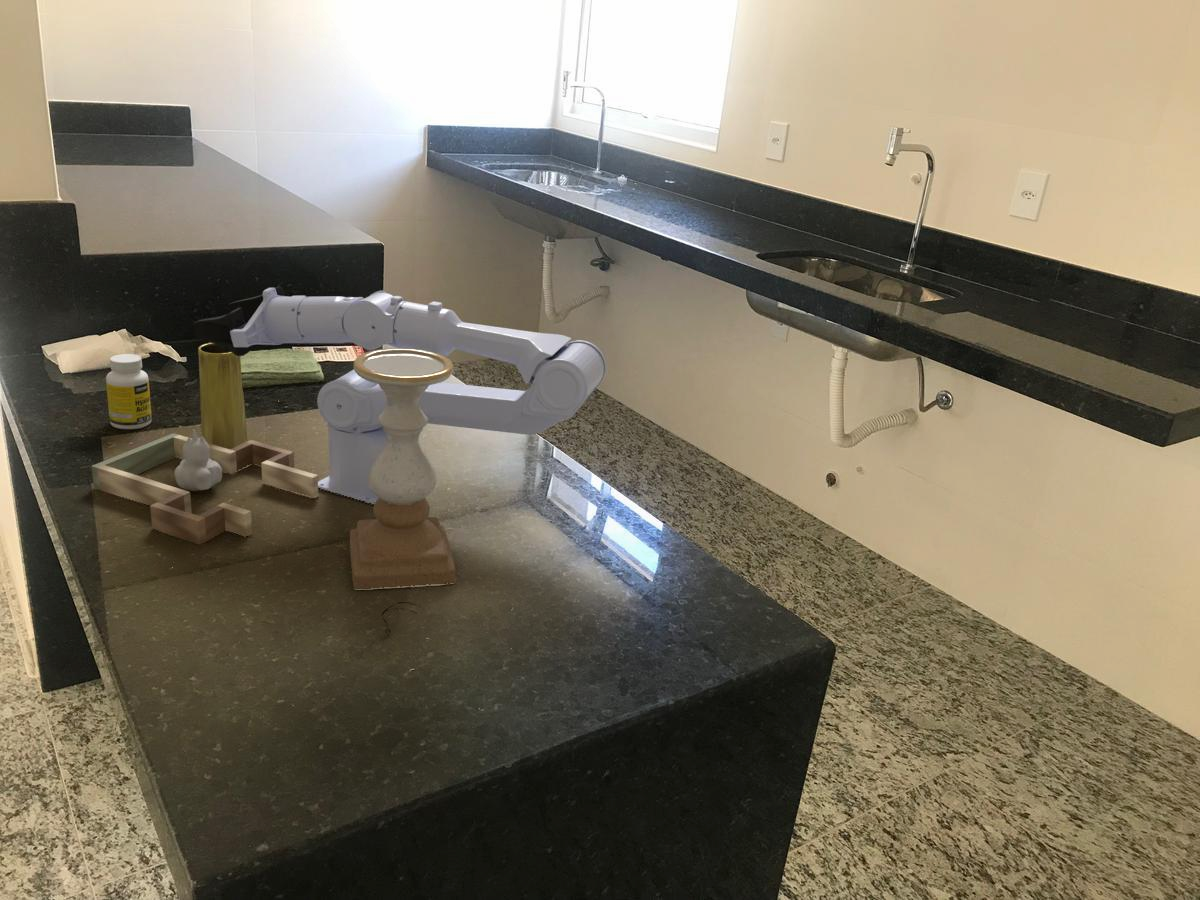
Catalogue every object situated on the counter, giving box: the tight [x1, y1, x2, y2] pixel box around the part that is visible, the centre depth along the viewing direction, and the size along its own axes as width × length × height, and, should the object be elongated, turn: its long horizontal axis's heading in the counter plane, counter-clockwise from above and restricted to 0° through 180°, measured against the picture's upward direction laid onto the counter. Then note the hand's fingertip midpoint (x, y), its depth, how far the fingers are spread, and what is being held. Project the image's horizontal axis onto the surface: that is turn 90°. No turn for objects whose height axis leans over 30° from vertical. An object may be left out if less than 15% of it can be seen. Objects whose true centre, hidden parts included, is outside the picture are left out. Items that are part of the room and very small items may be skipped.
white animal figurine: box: [173, 429, 223, 492], centre depth 120 cm, size 5×7×8 cm
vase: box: [197, 342, 249, 449], centre depth 132 cm, size 6×6×14 cm
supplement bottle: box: [105, 353, 153, 430], centre depth 137 cm, size 5×5×10 cm
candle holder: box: [349, 347, 456, 589], centre depth 105 cm, size 11×11×24 cm
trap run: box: [91, 432, 319, 546], centre depth 121 cm, size 24×21×3 cm
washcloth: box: [241, 348, 325, 388], centre depth 162 cm, size 13×18×3 cm
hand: (214, 320), depth 124 cm, fingers open, 7 cm apart
